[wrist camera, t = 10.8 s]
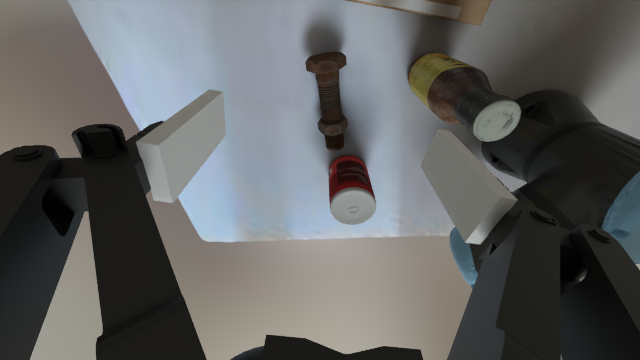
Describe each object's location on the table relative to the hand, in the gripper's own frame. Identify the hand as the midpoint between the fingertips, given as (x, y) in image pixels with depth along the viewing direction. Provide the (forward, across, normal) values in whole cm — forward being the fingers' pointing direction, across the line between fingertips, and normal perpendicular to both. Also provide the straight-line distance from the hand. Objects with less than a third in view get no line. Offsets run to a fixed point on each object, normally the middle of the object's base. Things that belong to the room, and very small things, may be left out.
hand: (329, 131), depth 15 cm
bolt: (+27, -2, +7) cm, 28 cm away
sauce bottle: (+27, -15, 0) cm, 31 cm away
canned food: (+27, -8, +20) cm, 34 cm away
